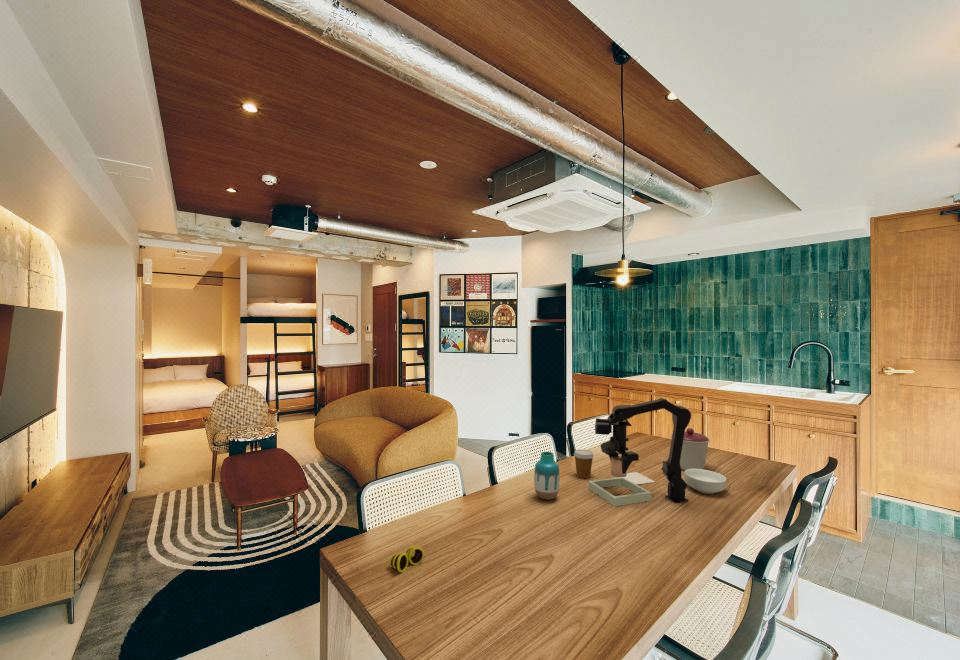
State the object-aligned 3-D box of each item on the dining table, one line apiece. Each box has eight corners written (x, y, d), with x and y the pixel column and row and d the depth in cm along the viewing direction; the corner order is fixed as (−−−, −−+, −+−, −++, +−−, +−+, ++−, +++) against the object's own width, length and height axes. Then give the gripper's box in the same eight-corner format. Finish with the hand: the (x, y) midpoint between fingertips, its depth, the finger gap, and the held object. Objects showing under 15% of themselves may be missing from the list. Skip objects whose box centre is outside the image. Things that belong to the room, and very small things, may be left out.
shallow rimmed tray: (650, 500, 168) (651, 492, 168) (614, 506, 163) (614, 497, 163) (622, 484, 186) (622, 476, 186) (588, 488, 180) (588, 481, 180)
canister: (673, 472, 202) (674, 431, 202) (667, 461, 219) (668, 422, 219) (713, 476, 197) (714, 434, 197) (704, 464, 214) (705, 425, 214)
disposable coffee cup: (589, 481, 189) (589, 456, 188) (570, 477, 194) (570, 452, 194) (596, 476, 196) (596, 451, 196) (578, 471, 202) (578, 447, 202)
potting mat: (655, 482, 188) (655, 481, 188) (632, 485, 184) (632, 484, 184) (636, 473, 201) (636, 472, 201) (614, 475, 197) (614, 474, 197)
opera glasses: (415, 558, 126) (413, 542, 127) (425, 562, 123) (423, 545, 123) (388, 571, 119) (387, 554, 120) (398, 576, 116) (397, 557, 116)
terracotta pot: (629, 476, 172) (630, 459, 172) (617, 477, 170) (617, 461, 170) (620, 471, 178) (620, 455, 178) (608, 472, 176) (608, 456, 176)
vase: (530, 500, 168) (531, 454, 168) (538, 491, 177) (539, 448, 177) (554, 505, 163) (555, 458, 163) (562, 496, 172) (562, 451, 172)
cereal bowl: (723, 501, 169) (724, 485, 169) (680, 491, 179) (680, 475, 179) (728, 489, 182) (728, 473, 182) (687, 480, 192) (688, 465, 192)
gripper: (591, 431, 180) (590, 465, 181) (617, 442, 163) (616, 480, 163) (612, 429, 184) (611, 463, 184) (640, 440, 166) (639, 477, 166)
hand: (618, 470), depth 174 cm, fingers closed on terracotta pot, 6 cm apart
